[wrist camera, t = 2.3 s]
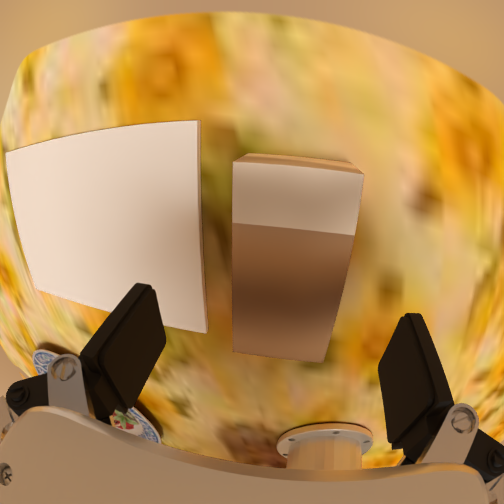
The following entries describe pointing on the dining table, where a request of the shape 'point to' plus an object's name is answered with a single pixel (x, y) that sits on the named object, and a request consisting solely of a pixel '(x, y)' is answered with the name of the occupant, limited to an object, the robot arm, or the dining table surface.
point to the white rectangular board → (115, 217)
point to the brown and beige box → (290, 252)
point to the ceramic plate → (126, 422)
